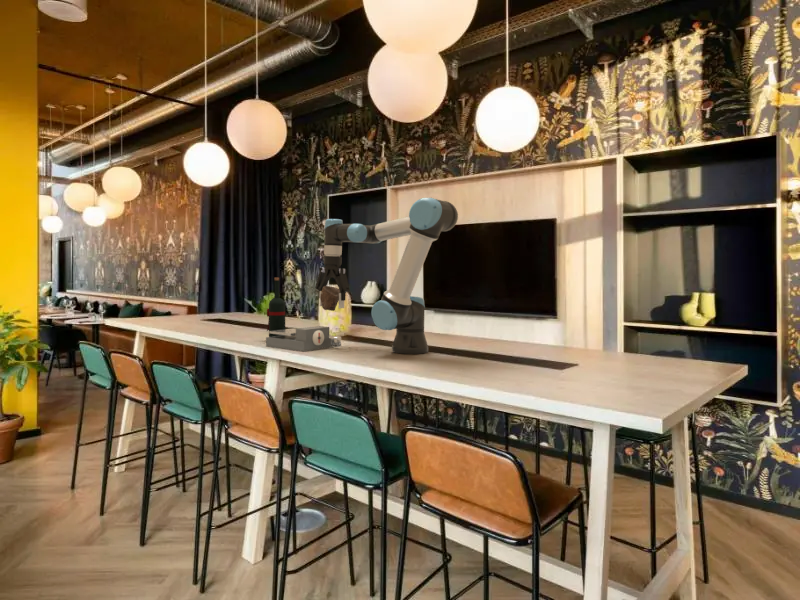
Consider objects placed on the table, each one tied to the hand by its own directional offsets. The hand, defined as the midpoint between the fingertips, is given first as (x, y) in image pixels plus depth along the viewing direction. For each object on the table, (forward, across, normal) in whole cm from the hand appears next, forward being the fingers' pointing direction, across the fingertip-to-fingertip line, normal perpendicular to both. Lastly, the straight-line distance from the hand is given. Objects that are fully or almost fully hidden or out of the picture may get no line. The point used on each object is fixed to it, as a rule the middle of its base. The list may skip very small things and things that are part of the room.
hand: (331, 307), depth 232 cm
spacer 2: (+18, +4, -7) cm, 20 cm away
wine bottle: (+19, +35, +1) cm, 40 cm away
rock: (+2, 0, 0) cm, 2 cm away
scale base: (+18, +14, +6) cm, 24 cm away
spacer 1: (+18, +10, -7) cm, 22 cm away
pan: (+14, +18, +6) cm, 23 cm away
